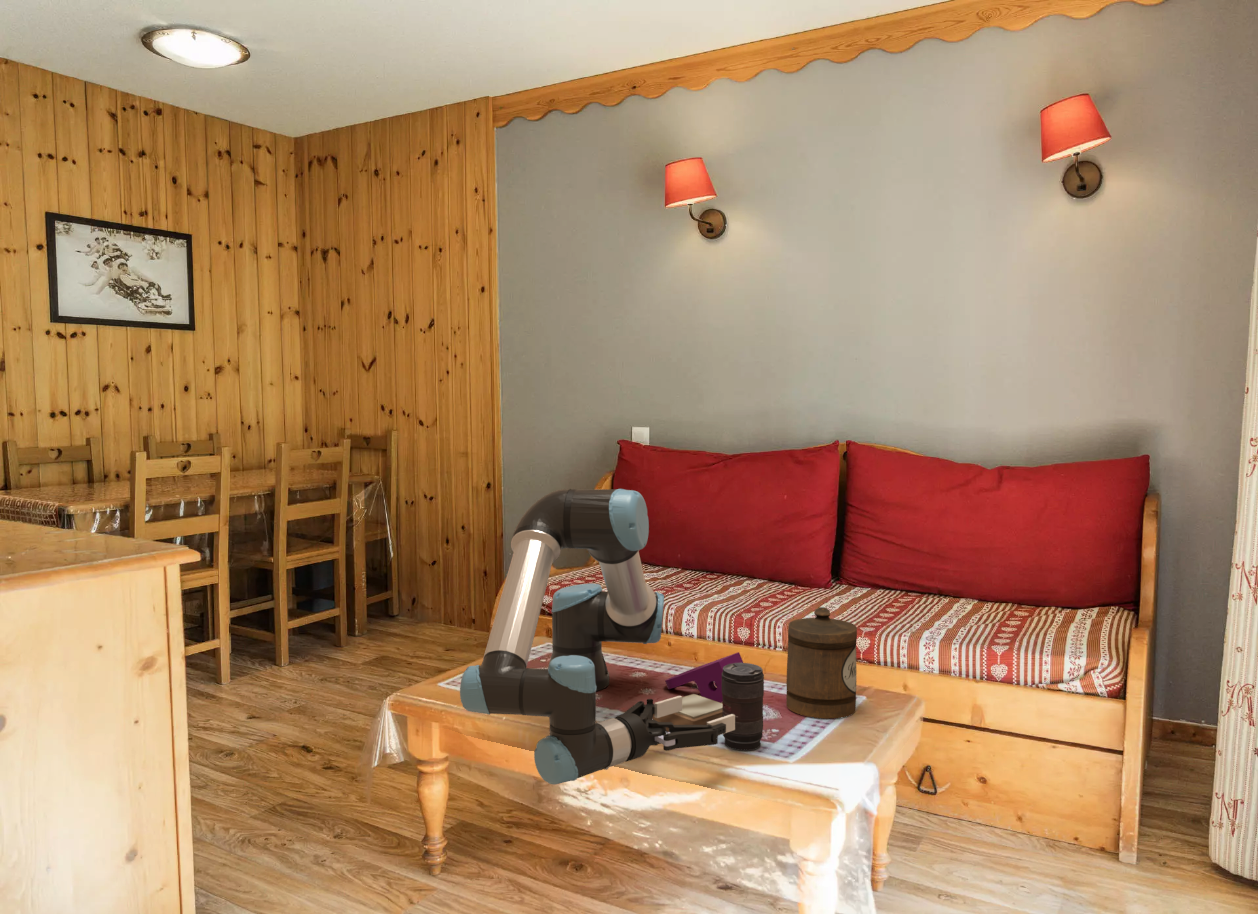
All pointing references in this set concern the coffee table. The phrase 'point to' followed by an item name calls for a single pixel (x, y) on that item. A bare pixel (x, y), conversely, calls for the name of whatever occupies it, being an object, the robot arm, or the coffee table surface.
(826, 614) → the wooden container
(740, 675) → the camera lens
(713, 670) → the mounting bracket
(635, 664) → the coffee table surface
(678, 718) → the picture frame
